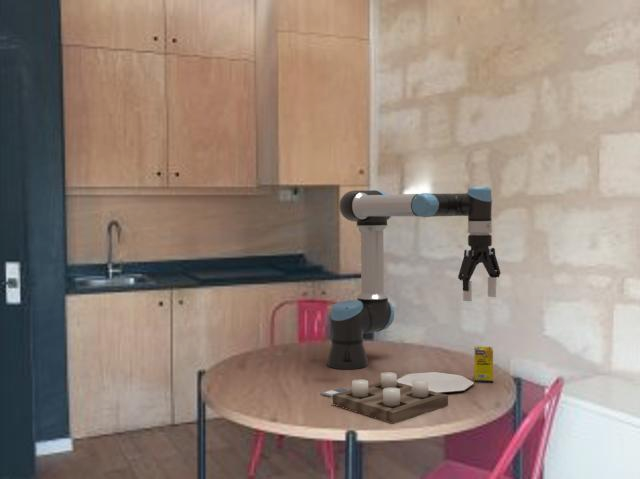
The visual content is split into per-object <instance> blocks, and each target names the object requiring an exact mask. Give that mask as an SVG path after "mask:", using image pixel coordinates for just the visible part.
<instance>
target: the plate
mask: <svg viewBox="0 0 640 479" xmlns="http://www.w3.org/2000/svg"><path fill="white" fill-rule="evenodd" d="M413 380H426V381H428V390H429V391H433V392H437V393H441V394H447V393H458V392H459V393H462V392H465V391H466V390H467V389H469V388H470V387H472V386H474V382H473V381H472V380H470V379H468V378H466V377H465V376H463V375H460V374H453V373H443V372H435V371H431V372H430V371H429V372H417V373H407V374H405V375H404V376H401V377H400V378H398V379H397V383H401V384H405V385H409V386H412V381H413Z"/></svg>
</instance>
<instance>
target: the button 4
mask: <svg viewBox="0 0 640 479" xmlns="http://www.w3.org/2000/svg"><path fill="white" fill-rule="evenodd" d="M412 396H414V397H427V396H428V381H426V380H413V381H412Z"/></svg>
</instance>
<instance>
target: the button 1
mask: <svg viewBox="0 0 640 479" xmlns="http://www.w3.org/2000/svg"><path fill="white" fill-rule="evenodd" d="M368 385H369V381H368V380H367V379H361V378H360V379H353V380H351V390H352V396H355V397H366V396H368Z"/></svg>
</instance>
